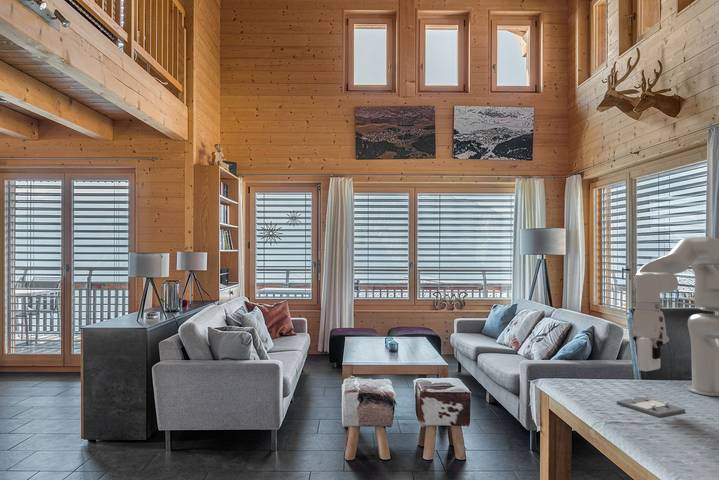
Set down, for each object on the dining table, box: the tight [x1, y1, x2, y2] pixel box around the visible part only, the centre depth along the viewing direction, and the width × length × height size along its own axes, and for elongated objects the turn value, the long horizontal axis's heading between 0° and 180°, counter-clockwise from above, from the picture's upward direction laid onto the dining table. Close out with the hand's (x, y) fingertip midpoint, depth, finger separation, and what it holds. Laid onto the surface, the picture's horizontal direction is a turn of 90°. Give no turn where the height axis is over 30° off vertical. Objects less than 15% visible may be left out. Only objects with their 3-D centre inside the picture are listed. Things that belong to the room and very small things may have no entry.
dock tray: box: [616, 396, 686, 418], centre depth 171 cm, size 14×16×2 cm
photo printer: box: [636, 336, 661, 372], centre depth 172 cm, size 10×4×12 cm, turn 123°
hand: (648, 356), depth 172 cm, fingers closed on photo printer, 4 cm apart
